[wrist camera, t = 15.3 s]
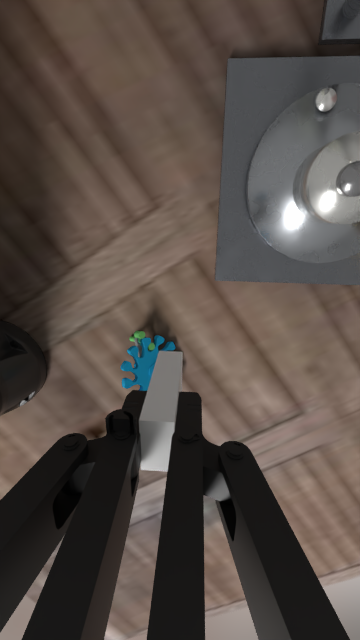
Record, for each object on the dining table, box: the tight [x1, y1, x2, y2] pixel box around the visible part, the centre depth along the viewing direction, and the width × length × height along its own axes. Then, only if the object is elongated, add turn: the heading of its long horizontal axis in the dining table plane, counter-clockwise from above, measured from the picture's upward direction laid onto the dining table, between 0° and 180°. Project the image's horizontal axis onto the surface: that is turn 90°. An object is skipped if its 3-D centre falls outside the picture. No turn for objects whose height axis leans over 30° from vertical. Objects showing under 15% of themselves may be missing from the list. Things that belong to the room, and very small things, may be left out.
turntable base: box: [215, 56, 360, 285], centre depth 35 cm, size 24×24×1 cm
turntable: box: [246, 83, 360, 263], centre depth 32 cm, size 18×23×6 cm
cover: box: [293, 131, 360, 224], centre depth 30 cm, size 8×8×6 cm
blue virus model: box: [121, 331, 175, 391], centre depth 43 cm, size 11×6×10 cm
